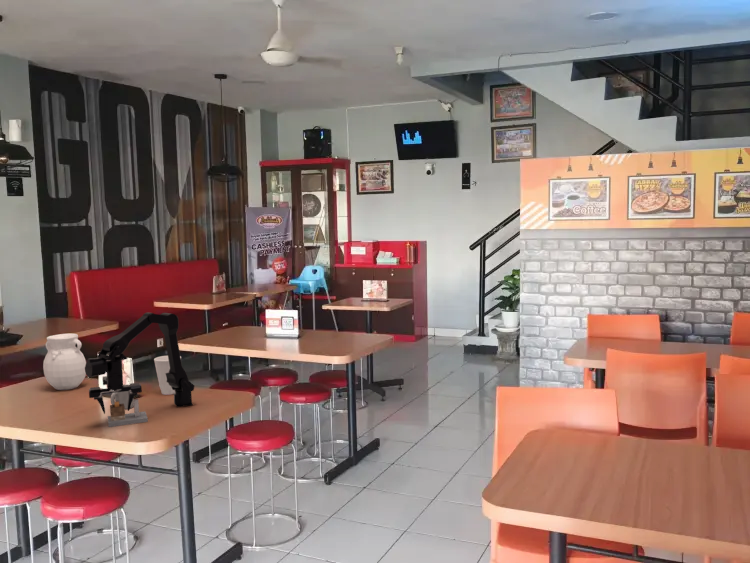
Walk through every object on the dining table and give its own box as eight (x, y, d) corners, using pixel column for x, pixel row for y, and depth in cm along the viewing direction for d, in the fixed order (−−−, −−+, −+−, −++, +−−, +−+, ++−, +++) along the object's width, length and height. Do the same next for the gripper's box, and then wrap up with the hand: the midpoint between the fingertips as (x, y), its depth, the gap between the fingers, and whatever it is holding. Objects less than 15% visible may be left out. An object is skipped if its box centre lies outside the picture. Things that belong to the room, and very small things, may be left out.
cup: (137, 406, 275) (136, 385, 274) (117, 412, 266) (115, 391, 265) (126, 404, 278) (125, 383, 278) (106, 410, 270) (104, 389, 269)
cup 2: (158, 390, 301) (157, 355, 300) (185, 388, 303) (183, 354, 301) (153, 396, 290) (151, 361, 288) (180, 395, 291) (178, 360, 289)
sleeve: (124, 415, 256) (123, 403, 256) (125, 419, 252) (124, 406, 251) (110, 417, 254) (109, 405, 254) (111, 421, 250) (110, 408, 249)
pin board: (145, 415, 262) (144, 395, 261) (147, 421, 253) (146, 401, 252) (107, 420, 256) (106, 400, 255) (108, 427, 247) (107, 406, 246)
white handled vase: (35, 392, 302) (31, 339, 300) (61, 382, 320) (57, 332, 318) (72, 393, 299) (68, 339, 297) (95, 383, 317) (92, 332, 315)
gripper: (138, 365, 262) (140, 403, 264) (88, 370, 255) (90, 409, 256) (140, 371, 252) (142, 410, 253) (88, 376, 245) (90, 417, 246)
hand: (116, 412), depth 253 cm, fingers open, 8 cm apart
